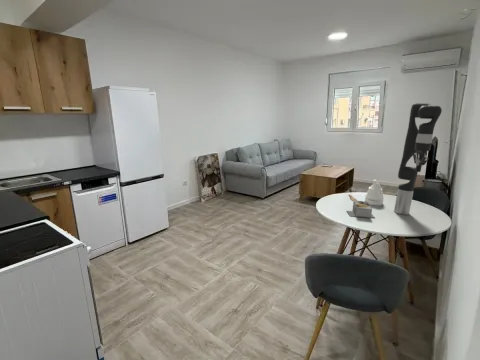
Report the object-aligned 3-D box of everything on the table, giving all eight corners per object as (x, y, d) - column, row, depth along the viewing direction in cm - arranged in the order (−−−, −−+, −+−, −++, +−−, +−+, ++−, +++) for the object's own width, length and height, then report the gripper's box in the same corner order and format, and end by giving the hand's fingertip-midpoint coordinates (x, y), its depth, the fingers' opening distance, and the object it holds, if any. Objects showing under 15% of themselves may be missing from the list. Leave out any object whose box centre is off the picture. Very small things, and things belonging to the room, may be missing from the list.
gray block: (346, 211, 185) (346, 210, 185) (369, 212, 183) (369, 212, 183) (350, 216, 176) (350, 215, 175) (375, 218, 174) (375, 217, 173)
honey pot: (361, 201, 209) (364, 179, 205) (372, 199, 214) (375, 178, 210) (375, 206, 198) (378, 183, 193) (386, 204, 203) (390, 181, 199)
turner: (347, 195, 223) (347, 194, 223) (352, 195, 223) (352, 194, 223) (352, 201, 209) (352, 200, 209) (357, 201, 208) (357, 200, 208)
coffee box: (370, 218, 172) (366, 209, 188) (372, 208, 171) (367, 201, 186) (356, 216, 175) (352, 208, 190) (357, 207, 173) (353, 200, 188)
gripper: (410, 140, 155) (405, 169, 160) (422, 142, 143) (416, 173, 147) (424, 141, 154) (418, 169, 159) (437, 143, 142) (431, 174, 146)
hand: (417, 171), depth 153 cm, fingers closed
